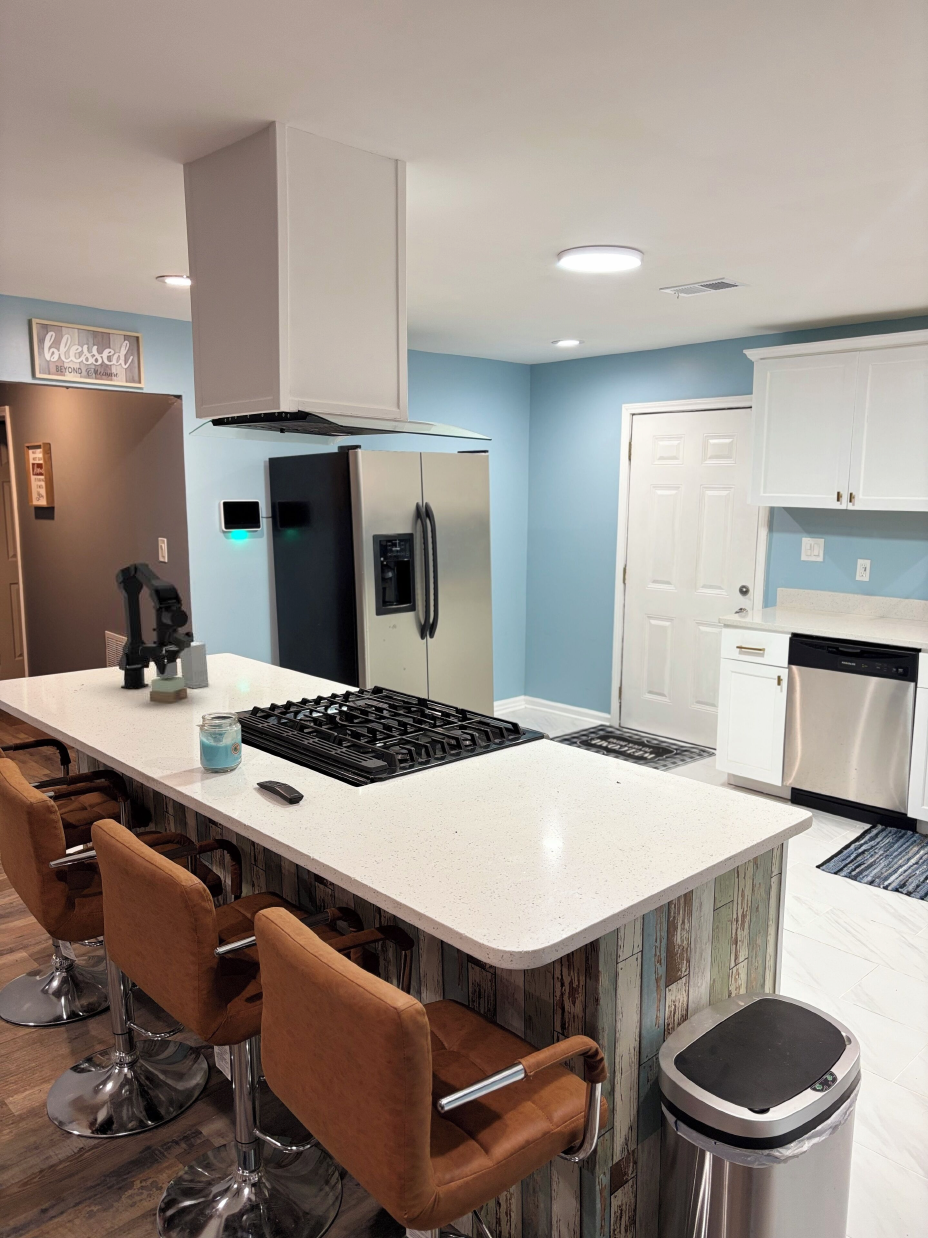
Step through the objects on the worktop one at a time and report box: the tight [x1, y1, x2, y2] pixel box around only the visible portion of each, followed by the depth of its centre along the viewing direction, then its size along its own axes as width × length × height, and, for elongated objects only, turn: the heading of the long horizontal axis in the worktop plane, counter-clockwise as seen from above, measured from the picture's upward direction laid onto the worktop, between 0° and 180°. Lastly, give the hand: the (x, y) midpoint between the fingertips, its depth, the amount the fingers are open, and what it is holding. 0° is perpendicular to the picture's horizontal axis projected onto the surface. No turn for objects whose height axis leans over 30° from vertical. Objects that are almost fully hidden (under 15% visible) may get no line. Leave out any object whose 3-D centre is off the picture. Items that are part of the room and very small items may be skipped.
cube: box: [155, 660, 179, 678], centre depth 284 cm, size 4×4×4 cm
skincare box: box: [179, 640, 210, 689], centre depth 304 cm, size 8×6×15 cm
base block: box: [149, 687, 188, 704], centre depth 285 cm, size 8×8×4 cm
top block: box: [151, 676, 185, 693], centre depth 285 cm, size 7×7×4 cm
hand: (166, 673), depth 284 cm, fingers closed on cube, 4 cm apart
